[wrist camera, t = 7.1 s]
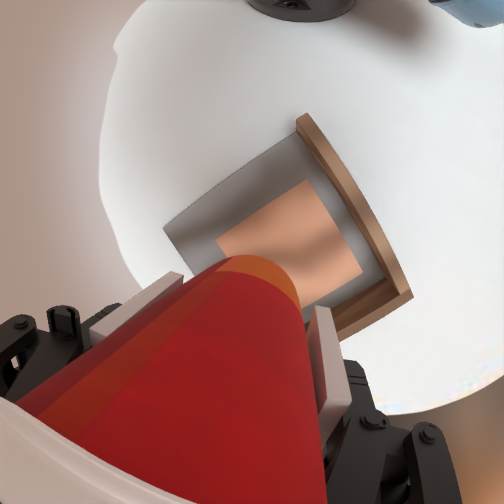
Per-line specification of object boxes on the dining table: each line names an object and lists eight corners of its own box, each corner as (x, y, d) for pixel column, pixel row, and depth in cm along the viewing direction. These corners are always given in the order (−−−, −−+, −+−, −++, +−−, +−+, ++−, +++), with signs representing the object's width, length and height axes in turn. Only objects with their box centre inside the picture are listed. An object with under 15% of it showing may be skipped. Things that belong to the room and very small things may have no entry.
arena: (164, 227, 32) (138, 236, 26) (305, 127, 26) (307, 112, 21) (256, 354, 34) (248, 383, 28) (395, 278, 29) (413, 297, 23)
